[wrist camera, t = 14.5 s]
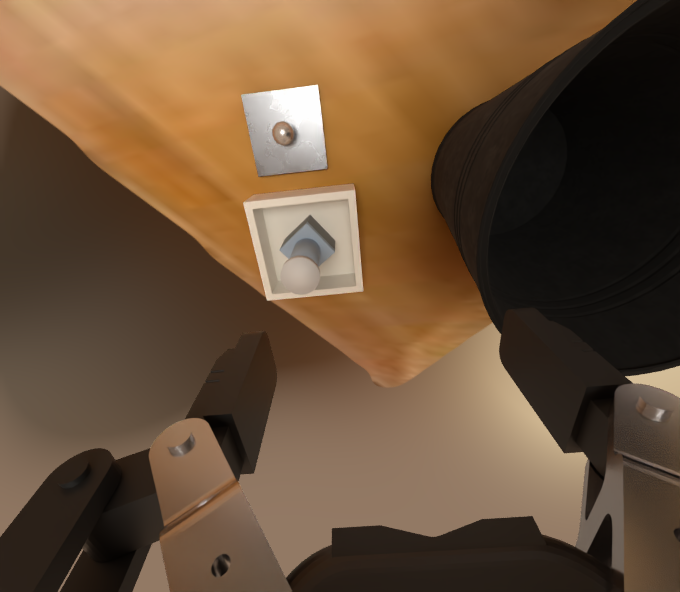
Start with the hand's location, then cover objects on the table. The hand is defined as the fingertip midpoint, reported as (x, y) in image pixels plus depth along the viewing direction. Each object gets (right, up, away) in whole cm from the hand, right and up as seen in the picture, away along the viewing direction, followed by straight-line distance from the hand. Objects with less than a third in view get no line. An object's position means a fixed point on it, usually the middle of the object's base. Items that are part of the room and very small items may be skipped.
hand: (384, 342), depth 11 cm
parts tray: (-6, +11, +40) cm, 41 cm away
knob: (-6, +10, +39) cm, 41 cm away
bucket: (+21, +20, +35) cm, 45 cm away
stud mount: (-9, +24, +33) cm, 41 cm away
